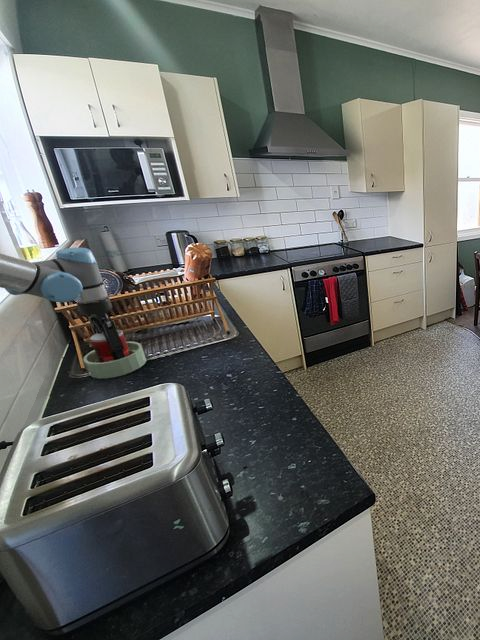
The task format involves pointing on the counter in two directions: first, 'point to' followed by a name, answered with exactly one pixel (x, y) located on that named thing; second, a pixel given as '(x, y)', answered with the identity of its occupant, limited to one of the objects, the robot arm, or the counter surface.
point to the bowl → (116, 363)
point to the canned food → (107, 346)
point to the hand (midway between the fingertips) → (117, 363)
